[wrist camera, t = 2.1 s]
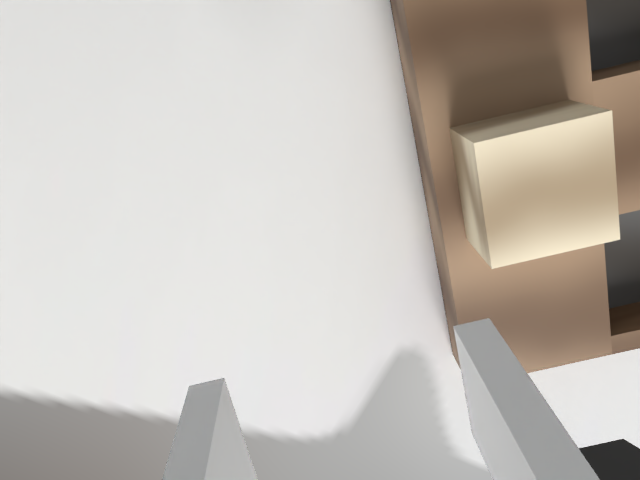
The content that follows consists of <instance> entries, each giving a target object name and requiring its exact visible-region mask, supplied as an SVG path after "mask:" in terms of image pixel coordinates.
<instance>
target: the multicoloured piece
mask: <svg viewBox="0 0 640 480" xmlns="http://www.w3.org/2000/svg"><path fill="white" fill-rule="evenodd" d="M390 2H391V8H392V14H393V19H394V25H395V31H396V36H397V42H398V47H399V53H400V59H401V64H402V70H403V76H404V81H405V87H406V92H407V98H408V104H409V109H410V115H411V121H412V126H413V132H414V137H415V143H416V149H417V154H418V160H419V166H420V171H421V177H422V183H423V188H424V194H425V199H426V205H427V211H428V216H429V222H430V228H431V233H432V239H433V244H434V250H435V256H436V261H437V267H438V273H439V278H440V284H441V289H442V295H443V301H444V306H445V312H446V318H447V323H448V329H449V335H450V340H451V346H452V351H453V355H454V357H455V359H456V361H457V363H458V365H459V367H460V362H459V356H458V350H457V345H456V339H455V333H454V327H453V326H456V325H461V324H465V323H470V322H474V321H478V320H483V319H487V318H489V319H490V320H491V321H492V323H493V324H494V326H495V327H496V329H497V330H498V332H499V333H500V335H501V336H502V337H503V339H504V340H505V342H506V343H507V345H508V346H509V348H510V349H511V351H512V352H513V354H514V355H515V356H516V358H517V359H518V361H519V362H520V364H521V365H522V367H523V368H524V370H525V371H526V373H530V372H534V371H539V370H543V369H548V368H552V367H557V366H561V365H566V364H570V363H575V362H579V361H584V360H588V359H593V358H597V357H602V356H606V355H611V354H615V353H620V352H624V351H629V350H633V349H638V348H640V0H390ZM565 100H572V101H576V102H580V103H584V104H588V105H592V106H596V107H600V108H604V109H608V110H612V117H613V133H614V149H615V164H616V180H617V196H618V211H619V227H620V240H616V241H612V242H607V243H603V244H599V245H594V246H590V247H586V248H581V249H577V250H573V251H568V252H564V253H559V254H555V255H551V256H546V257H542V258H538V259H533V260H529V261H525V262H520V263H516V264H511V265H507V266H503V267H498V268H494V269H491V267H490V266H489V265H488V264H487V263H486V261H485V260H484V259H483V258H482V257H481V255H480V254H479V253H478V252H477V251H476V249H475V248H474V247H473V246H472V245H471V244H470V242H469V241H468V240H467V237H466V231H465V224H464V218H463V212H462V205H461V199H460V193H459V186H458V180H457V173H456V167H455V161H454V154H453V148H452V142H451V135H450V129H449V128H452V127H456V126H460V125H465V124H469V123H473V122H477V121H481V120H486V119H490V118H494V117H498V116H502V115H507V114H511V113H515V112H519V111H523V110H528V109H532V108H536V107H540V106H544V105H549V104H553V103H557V102H561V101H565ZM460 369H461V368H460Z"/></svg>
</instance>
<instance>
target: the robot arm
mask: <svg viewBox="0 0 640 480" xmlns="http://www.w3.org/2000/svg"><path fill="white" fill-rule="evenodd" d="M453 327H454V333H455V339H456V345H457V350H458V356H459V362H460V368H461V373H462V379H463V385H464V390H465V396H466V402H467V408H468V413H469V419H470V425H471V431H472V434H473V436H474V439H475V441H476V443H477V445H478V447H479V450H480V452H481V454H482V456H483V459H484V461H485V463H486V465H487V468H488V470H489V472H490V474H491V476H492V479H493V480H640V449H639V448H637V447H636V446H634V445H632V444H631V443H629V442H628V441H626V440H624V439H621V440H616V441H611V442H607V443H602V444H598V445H593V446H588V447H584V448H578V447H577V445H576V444H575V443H574V441H573V440H572V438H571V437H570V435H569V434H568V432H567V431H566V429H565V428H564V427H563V425H562V424H561V422H560V421H559V419H558V418H557V416H556V415H555V413H554V412H553V410H552V409H551V408H550V406H549V405H548V403H547V402H546V400H545V399H544V397H543V396H542V394H541V393H540V391H539V390H538V389H537V387H536V386H535V384H534V383H533V381H532V380H531V378H530V377H529V375H528V374H527V373H526V371H525V370H524V368H523V367H522V365H521V364H520V362H519V361H518V359H517V358H516V356H515V355H514V354H513V352H512V351H511V349H510V348H509V346H508V345H507V343H506V342H505V340H504V339H503V337H502V336H501V335H500V333H499V332H498V330H497V329H496V327H495V326H494V324H493V323H492V321H491V320H490V319H489V318H487V319H483V320H478V321H474V322H470V323H465V324H461V325H456V326H453ZM162 480H258V479H257V476H256V473H255V470H254V467H253V464H252V461H251V458H250V455H249V452H248V449H247V446H246V443H245V440H244V437H243V434H242V431H241V428H240V424H239V421H238V418H237V415H236V412H235V409H234V406H233V403H232V400H231V397H230V394H229V391H228V388H227V385H226V382H225V379H224V378H222V379H218V380H214V381H209V382H205V383H200V384H196V385H192V386H189V389H188V392H187V396H186V399H185V403H184V406H183V409H182V413H181V416H180V420H179V423H178V427H177V430H176V434H175V437H174V441H173V444H172V448H171V451H170V455H169V458H168V461H167V465H166V468H165V472H164V475H163V479H162Z"/></svg>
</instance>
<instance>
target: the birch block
mask: <svg viewBox="0 0 640 480" xmlns="http://www.w3.org/2000/svg"><path fill="white" fill-rule="evenodd" d="M449 129H450V135H451V142H452V148H453V154H454V161H455V167H456V173H457V180H458V186H459V193H460V199H461V205H462V212H463V218H464V224H465V231H466V237H467V240H468V241H469V242H470V244H471V245H472V246H473V247H474V248H475V249H476V251H477V252H478V253H479V254H480V255H481V257H482V258H483V259H484V260H485V261H486V263H487V264H488V265H489V266H490V267H491V269H494V268H498V267H503V266H507V265H511V264H516V263H520V262H525V261H529V260H533V259H538V258H542V257H546V256H551V255H555V254H559V253H564V252H568V251H573V250H577V249H581V248H586V247H590V246H594V245H599V244H603V243H607V242H612V241H616V240H620V227H619V211H618V196H617V180H616V164H615V149H614V133H613V117H612V110H608V109H604V108H600V107H596V106H592V105H588V104H584V103H580V102H576V101H572V100H565V101H561V102H557V103H553V104H549V105H544V106H540V107H536V108H532V109H528V110H523V111H519V112H515V113H511V114H507V115H502V116H498V117H494V118H490V119H486V120H481V121H477V122H473V123H469V124H465V125H460V126H456V127H452V128H449Z"/></svg>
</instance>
